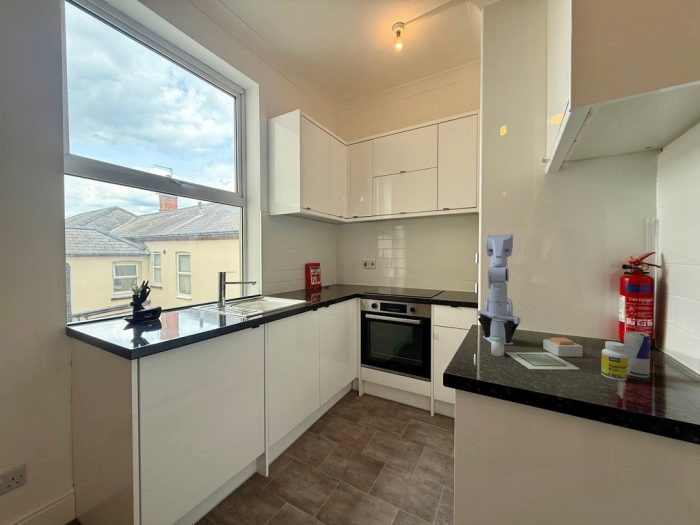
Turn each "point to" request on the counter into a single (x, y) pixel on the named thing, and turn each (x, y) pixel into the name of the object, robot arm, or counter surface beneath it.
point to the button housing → (562, 348)
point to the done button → (562, 341)
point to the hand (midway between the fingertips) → (497, 339)
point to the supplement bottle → (614, 361)
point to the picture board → (542, 361)
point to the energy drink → (637, 353)
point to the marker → (497, 345)
